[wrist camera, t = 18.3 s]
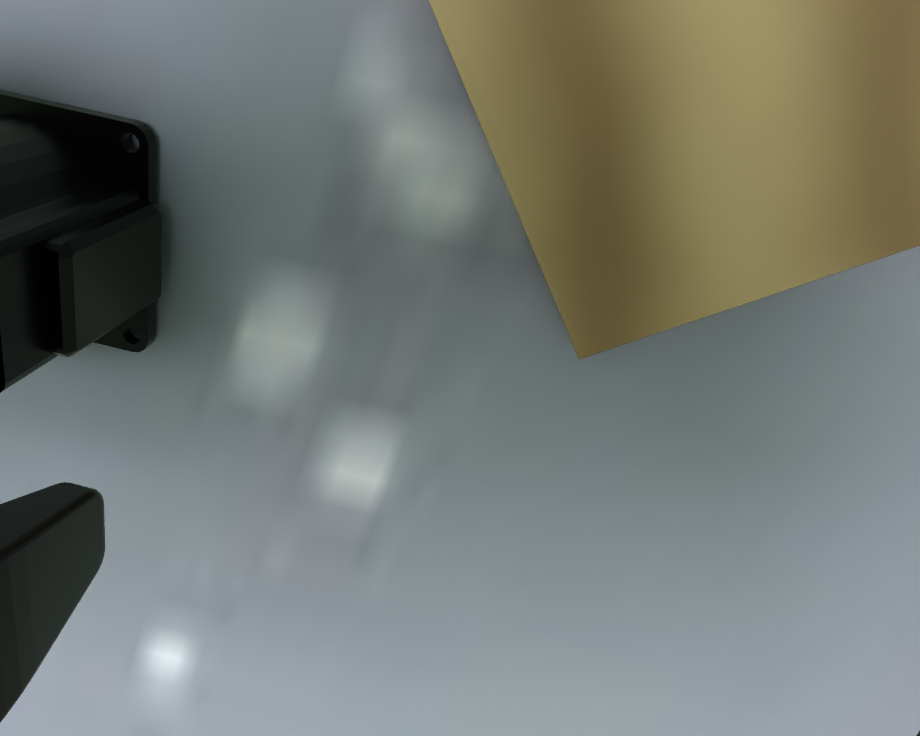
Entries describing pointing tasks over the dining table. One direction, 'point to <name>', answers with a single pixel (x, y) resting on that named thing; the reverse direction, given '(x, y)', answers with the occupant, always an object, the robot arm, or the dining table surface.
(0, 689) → the robot arm
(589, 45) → the board
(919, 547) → the dining table surface
